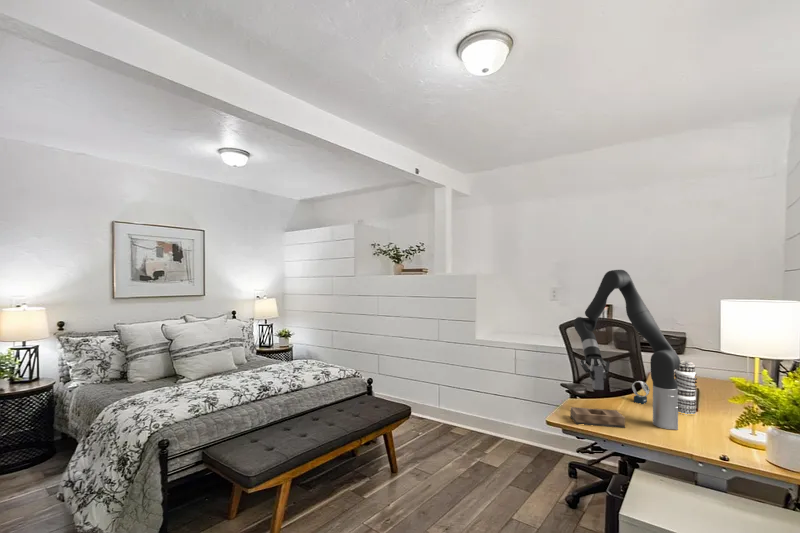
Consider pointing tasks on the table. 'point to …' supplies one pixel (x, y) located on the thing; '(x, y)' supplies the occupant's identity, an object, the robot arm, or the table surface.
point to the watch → (638, 397)
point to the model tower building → (686, 387)
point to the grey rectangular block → (598, 377)
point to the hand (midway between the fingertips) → (599, 379)
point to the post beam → (597, 417)
